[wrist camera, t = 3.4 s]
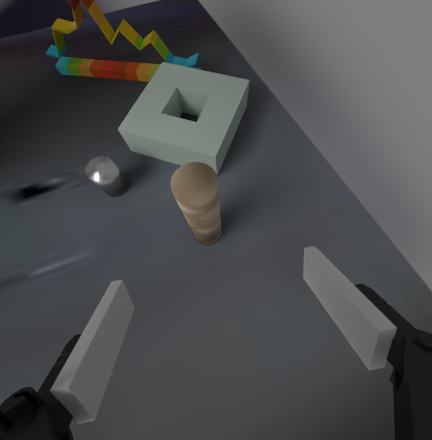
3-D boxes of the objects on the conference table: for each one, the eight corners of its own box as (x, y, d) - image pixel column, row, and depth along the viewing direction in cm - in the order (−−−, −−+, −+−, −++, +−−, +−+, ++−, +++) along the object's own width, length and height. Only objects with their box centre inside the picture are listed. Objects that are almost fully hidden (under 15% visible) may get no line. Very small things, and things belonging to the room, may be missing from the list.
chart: (202, 76, 42) (190, -33, 28) (199, 87, 41) (185, -21, 27) (68, 65, 45) (-3, -38, 31) (62, 75, 44) (-14, -27, 30)
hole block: (131, 150, 36) (117, 129, 31) (169, 88, 41) (162, 61, 36) (217, 176, 33) (215, 156, 29) (246, 106, 38) (249, 80, 34)
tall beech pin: (190, 239, 30) (162, 195, 17) (200, 215, 31) (182, 156, 18) (215, 248, 29) (208, 210, 16) (225, 223, 31) (224, 169, 17)
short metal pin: (100, 192, 33) (79, 175, 29) (112, 172, 35) (94, 153, 30) (121, 199, 33) (103, 183, 28) (133, 179, 34) (118, 160, 29)
